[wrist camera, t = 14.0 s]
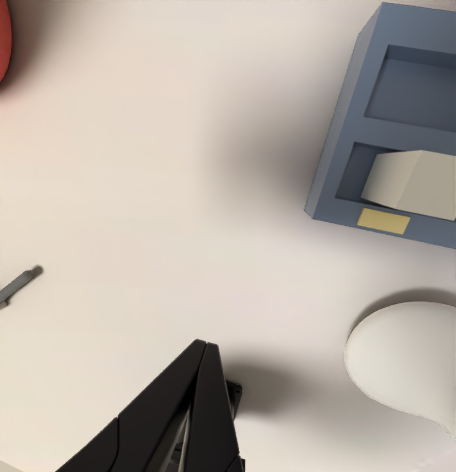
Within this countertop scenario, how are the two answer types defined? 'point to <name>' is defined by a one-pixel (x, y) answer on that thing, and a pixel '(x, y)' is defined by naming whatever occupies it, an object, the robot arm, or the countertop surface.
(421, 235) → the switch panel
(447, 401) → the flower in vase
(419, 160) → the tab
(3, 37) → the citrus juicer
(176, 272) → the countertop surface
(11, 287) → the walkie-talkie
